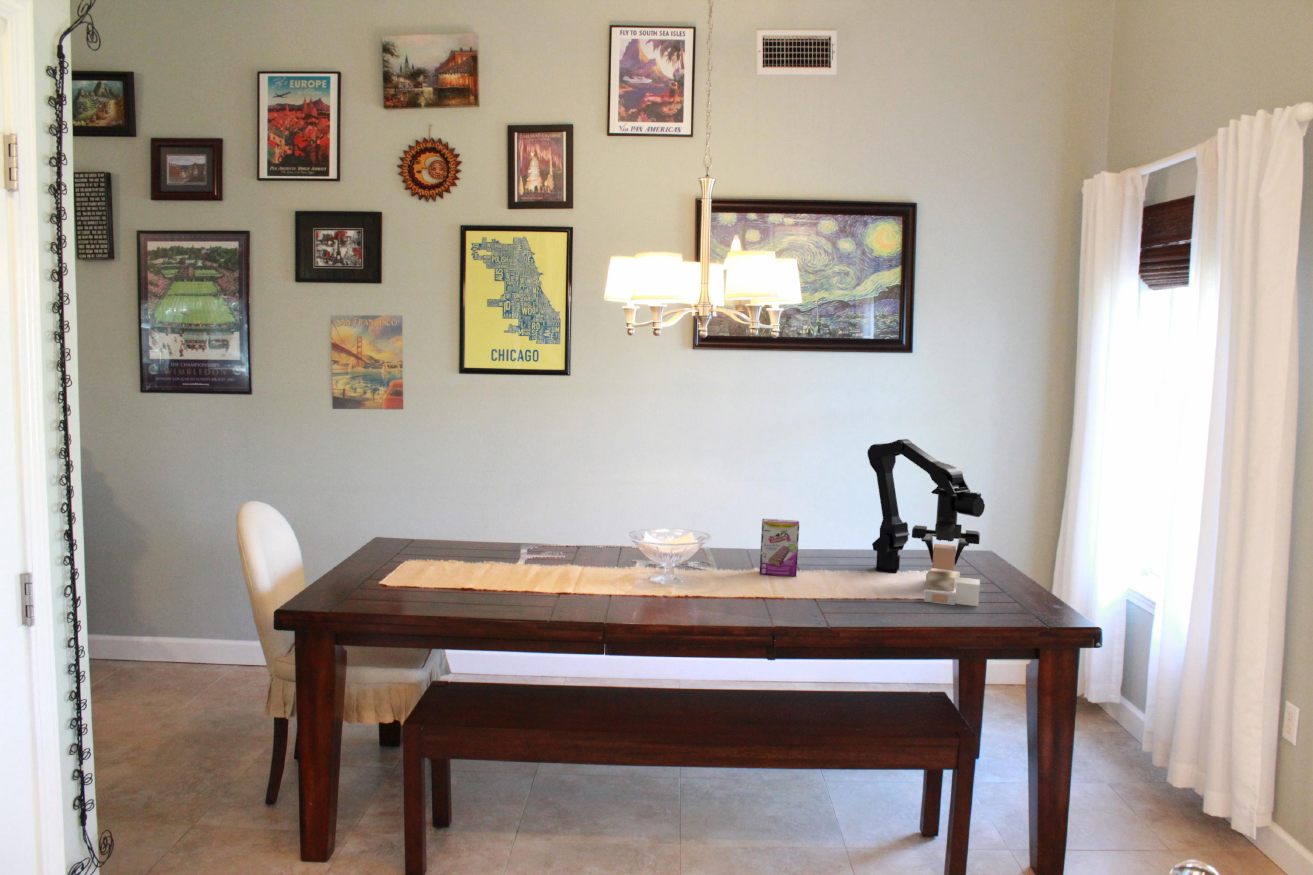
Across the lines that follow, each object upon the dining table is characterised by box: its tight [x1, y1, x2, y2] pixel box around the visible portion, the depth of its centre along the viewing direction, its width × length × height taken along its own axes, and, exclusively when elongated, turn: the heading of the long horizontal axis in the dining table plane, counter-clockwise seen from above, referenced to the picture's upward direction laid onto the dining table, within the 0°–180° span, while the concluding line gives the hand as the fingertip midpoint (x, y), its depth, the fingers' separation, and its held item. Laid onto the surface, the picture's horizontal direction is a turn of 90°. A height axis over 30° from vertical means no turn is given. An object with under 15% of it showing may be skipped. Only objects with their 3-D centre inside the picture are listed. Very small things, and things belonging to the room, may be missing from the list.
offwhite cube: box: [955, 577, 981, 607], centre depth 249 cm, size 6×6×6 cm
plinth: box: [923, 588, 956, 606], centre depth 247 cm, size 8×2×3 cm, turn 70°
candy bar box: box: [759, 518, 800, 577], centre depth 272 cm, size 11×5×16 cm, turn 84°
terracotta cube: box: [931, 543, 957, 571], centre depth 265 cm, size 6×6×6 cm
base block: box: [925, 568, 961, 591], centre depth 265 cm, size 8×8×4 cm
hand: (943, 563), depth 265 cm, fingers closed on terracotta cube, 6 cm apart
